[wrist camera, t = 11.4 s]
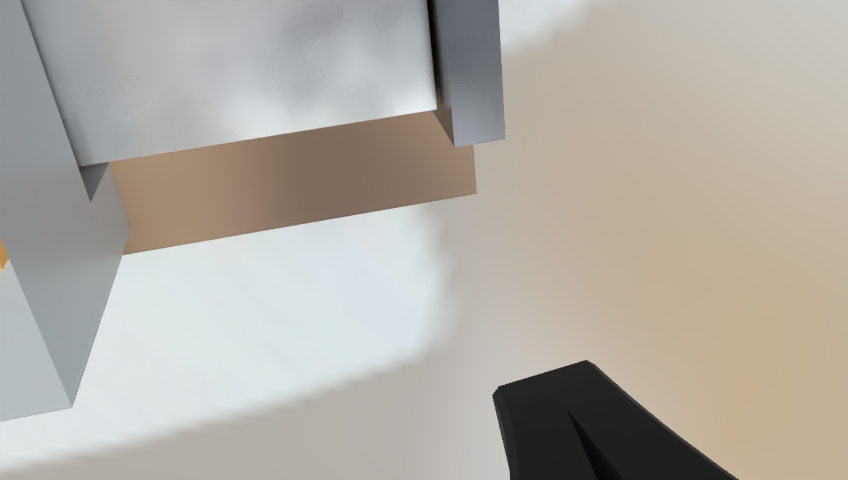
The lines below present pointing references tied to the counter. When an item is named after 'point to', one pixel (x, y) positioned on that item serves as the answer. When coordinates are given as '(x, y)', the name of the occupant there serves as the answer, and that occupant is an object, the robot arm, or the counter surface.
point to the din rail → (263, 69)
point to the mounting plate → (289, 180)
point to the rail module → (47, 236)
